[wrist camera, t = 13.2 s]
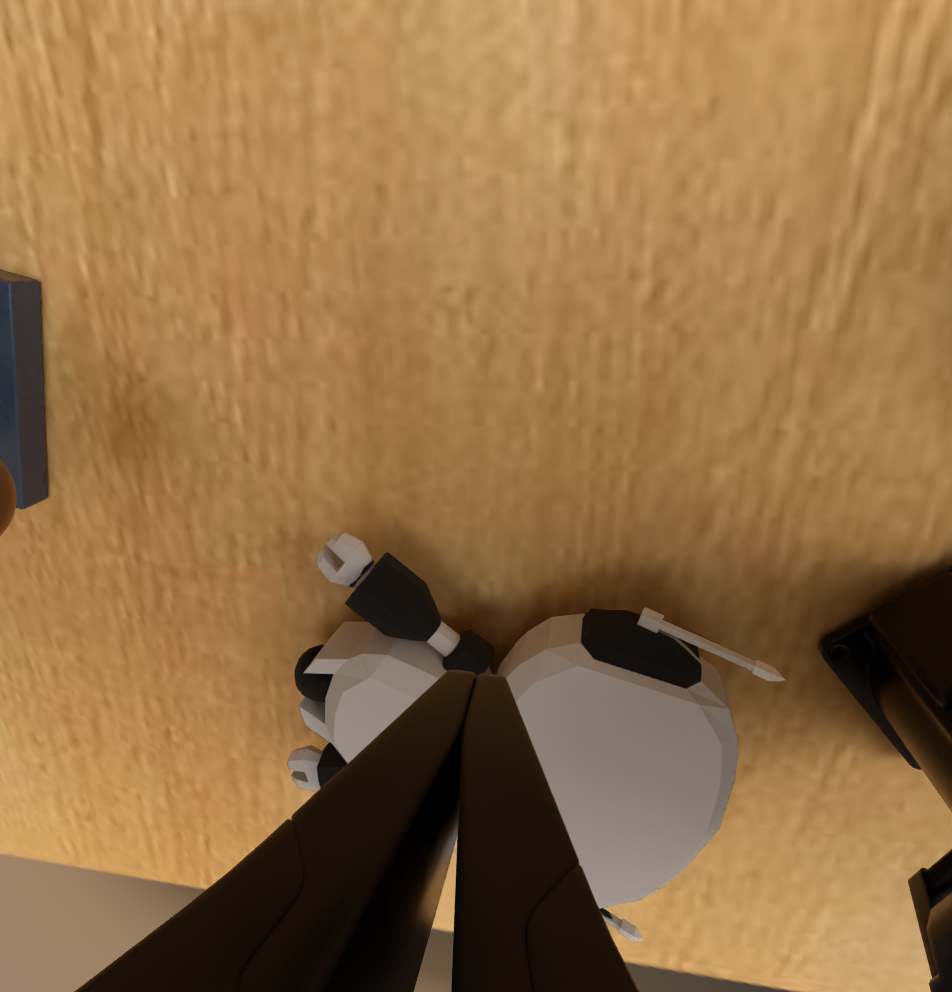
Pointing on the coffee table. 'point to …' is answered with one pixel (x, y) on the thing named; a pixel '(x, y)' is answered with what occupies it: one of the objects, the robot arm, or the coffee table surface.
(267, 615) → the coffee table surface
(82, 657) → the coffee table surface
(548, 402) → the coffee table surface
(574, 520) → the coffee table surface
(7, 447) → the bracket
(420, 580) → the robot toy
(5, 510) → the lever
